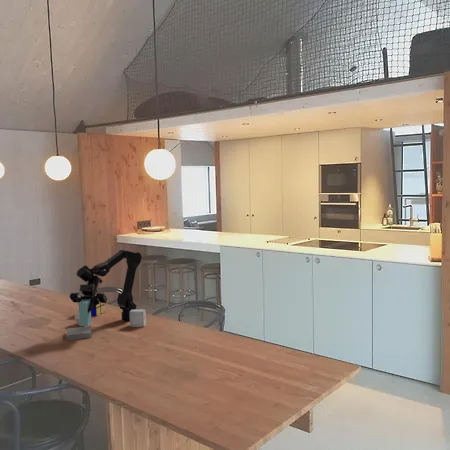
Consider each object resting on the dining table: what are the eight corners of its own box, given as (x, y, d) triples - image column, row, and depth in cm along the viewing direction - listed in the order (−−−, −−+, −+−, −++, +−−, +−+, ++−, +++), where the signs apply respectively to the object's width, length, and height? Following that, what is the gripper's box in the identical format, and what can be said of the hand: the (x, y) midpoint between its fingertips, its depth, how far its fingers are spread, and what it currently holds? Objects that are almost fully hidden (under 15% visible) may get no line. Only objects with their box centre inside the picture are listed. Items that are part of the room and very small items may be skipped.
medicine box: (146, 324, 271) (145, 309, 270) (144, 327, 267) (143, 311, 266) (132, 324, 272) (131, 309, 271) (129, 327, 268) (129, 311, 267)
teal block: (91, 322, 254) (90, 299, 253) (87, 325, 248) (86, 302, 247) (83, 322, 254) (82, 299, 253) (80, 326, 248) (78, 302, 247)
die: (84, 328, 269) (94, 312, 272) (70, 321, 269) (79, 304, 272) (86, 329, 277) (95, 313, 280) (72, 322, 277) (81, 306, 280)
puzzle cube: (81, 315, 293) (80, 299, 292) (90, 311, 303) (90, 295, 302) (96, 316, 290) (95, 300, 289) (105, 312, 300) (104, 296, 299)
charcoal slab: (91, 331, 262) (91, 326, 262) (91, 338, 251) (91, 332, 251) (68, 334, 259) (67, 328, 259) (66, 341, 248) (66, 335, 248)
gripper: (69, 277, 255) (60, 303, 245) (103, 277, 251) (95, 304, 242) (77, 289, 263) (69, 314, 253) (110, 289, 260) (103, 315, 250)
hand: (83, 312), depth 249 cm, fingers closed on teal block, 4 cm apart
